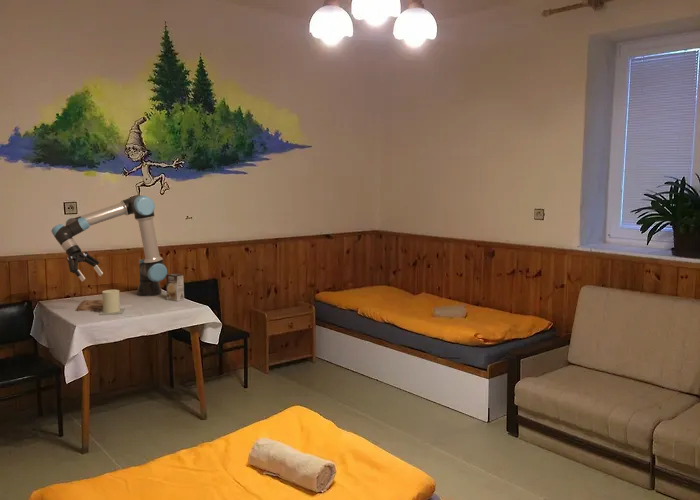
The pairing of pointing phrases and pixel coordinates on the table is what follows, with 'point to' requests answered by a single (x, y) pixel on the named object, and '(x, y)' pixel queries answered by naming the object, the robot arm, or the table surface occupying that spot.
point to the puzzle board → (90, 305)
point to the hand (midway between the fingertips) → (92, 277)
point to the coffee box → (175, 286)
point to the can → (111, 301)
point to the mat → (112, 313)
